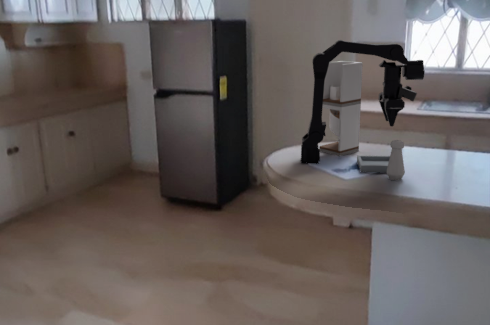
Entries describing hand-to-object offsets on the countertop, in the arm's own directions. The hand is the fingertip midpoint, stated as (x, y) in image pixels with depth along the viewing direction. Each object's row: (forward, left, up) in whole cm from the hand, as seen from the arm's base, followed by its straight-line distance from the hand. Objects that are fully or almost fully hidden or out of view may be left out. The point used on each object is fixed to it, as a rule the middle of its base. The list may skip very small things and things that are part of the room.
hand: (389, 123), depth 182 cm
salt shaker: (0, -19, -15) cm, 24 cm away
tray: (-4, -6, -15) cm, 16 cm away
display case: (-16, +16, -15) cm, 27 cm away
